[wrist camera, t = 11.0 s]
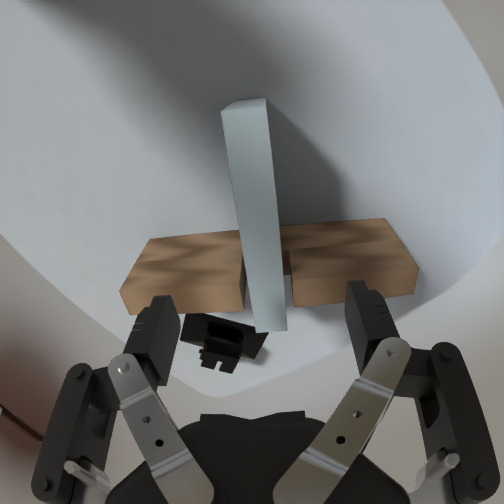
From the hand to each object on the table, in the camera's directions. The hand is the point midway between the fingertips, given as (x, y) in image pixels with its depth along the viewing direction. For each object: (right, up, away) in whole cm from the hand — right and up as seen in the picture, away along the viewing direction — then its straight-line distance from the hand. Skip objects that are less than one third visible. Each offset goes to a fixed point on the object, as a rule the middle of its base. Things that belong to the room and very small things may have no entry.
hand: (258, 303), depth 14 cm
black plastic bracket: (-4, -7, +22) cm, 23 cm away
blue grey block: (+1, +7, +12) cm, 14 cm away
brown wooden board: (+1, +3, +14) cm, 15 cm away
